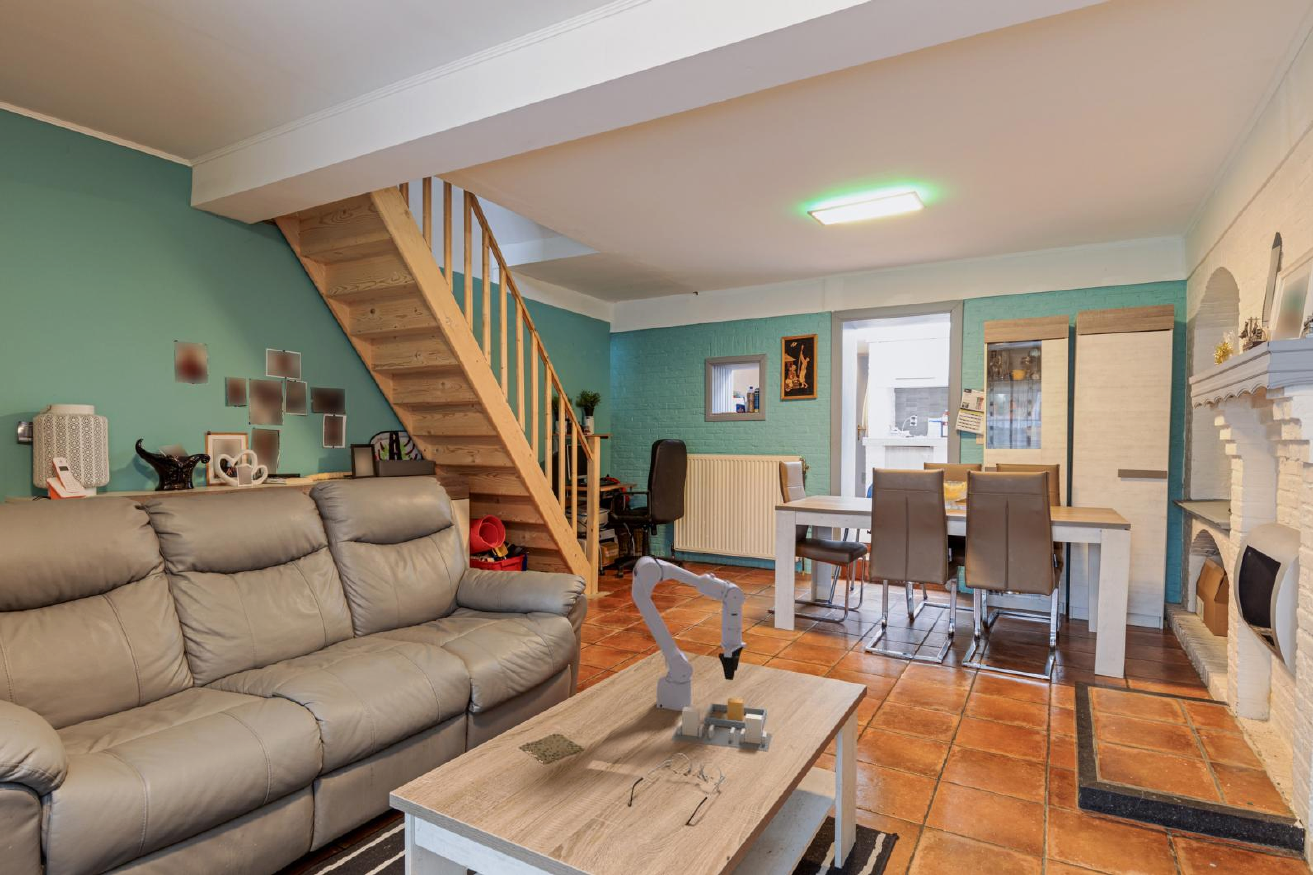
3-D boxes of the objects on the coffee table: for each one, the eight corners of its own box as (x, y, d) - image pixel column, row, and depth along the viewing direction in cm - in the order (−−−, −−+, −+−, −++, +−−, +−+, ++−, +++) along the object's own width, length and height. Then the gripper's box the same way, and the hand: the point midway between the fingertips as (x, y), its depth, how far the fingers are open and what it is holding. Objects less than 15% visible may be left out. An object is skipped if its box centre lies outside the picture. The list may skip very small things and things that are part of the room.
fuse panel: (670, 745, 172) (671, 731, 172) (679, 728, 182) (679, 715, 182) (767, 757, 166) (768, 743, 166) (771, 739, 176) (771, 725, 176)
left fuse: (682, 734, 175) (682, 710, 175) (684, 729, 178) (684, 706, 178) (697, 735, 174) (697, 712, 174) (699, 731, 177) (699, 708, 177)
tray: (704, 729, 182) (704, 717, 182) (711, 713, 192) (711, 703, 192) (762, 736, 178) (762, 724, 178) (766, 720, 188) (766, 709, 188)
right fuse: (745, 741, 171) (745, 717, 171) (746, 737, 174) (746, 713, 174) (761, 743, 170) (761, 719, 170) (762, 739, 173) (762, 715, 173)
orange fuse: (727, 723, 184) (727, 701, 184) (728, 719, 187) (728, 697, 187) (742, 725, 183) (742, 703, 183) (743, 721, 186) (743, 699, 186)
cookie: (517, 749, 171) (517, 745, 171) (558, 735, 179) (558, 731, 179) (543, 767, 162) (543, 763, 162) (585, 751, 170) (585, 747, 170)
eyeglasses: (730, 787, 153) (730, 765, 153) (692, 829, 137) (692, 804, 137) (666, 769, 161) (667, 748, 161) (623, 806, 145) (624, 783, 145)
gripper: (742, 635, 188) (742, 685, 188) (748, 621, 202) (748, 667, 202) (716, 633, 190) (716, 682, 190) (725, 619, 204) (724, 665, 204)
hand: (731, 674), depth 196 cm, fingers open, 7 cm apart
